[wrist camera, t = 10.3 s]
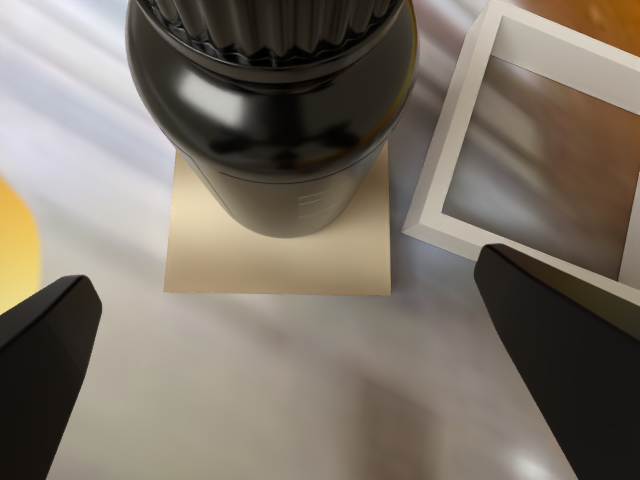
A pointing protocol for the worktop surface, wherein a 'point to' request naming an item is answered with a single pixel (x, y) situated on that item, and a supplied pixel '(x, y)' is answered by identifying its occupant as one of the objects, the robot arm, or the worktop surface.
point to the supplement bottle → (275, 97)
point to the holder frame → (480, 42)
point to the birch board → (278, 245)
